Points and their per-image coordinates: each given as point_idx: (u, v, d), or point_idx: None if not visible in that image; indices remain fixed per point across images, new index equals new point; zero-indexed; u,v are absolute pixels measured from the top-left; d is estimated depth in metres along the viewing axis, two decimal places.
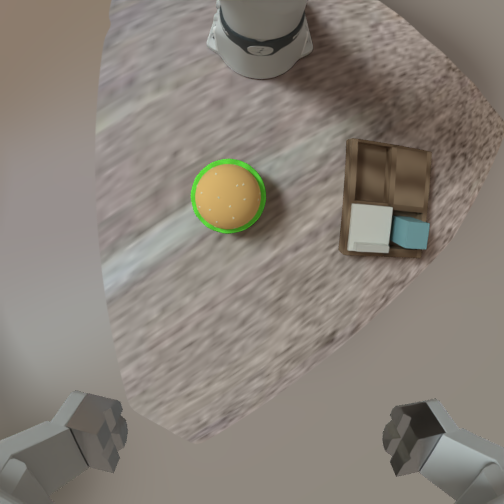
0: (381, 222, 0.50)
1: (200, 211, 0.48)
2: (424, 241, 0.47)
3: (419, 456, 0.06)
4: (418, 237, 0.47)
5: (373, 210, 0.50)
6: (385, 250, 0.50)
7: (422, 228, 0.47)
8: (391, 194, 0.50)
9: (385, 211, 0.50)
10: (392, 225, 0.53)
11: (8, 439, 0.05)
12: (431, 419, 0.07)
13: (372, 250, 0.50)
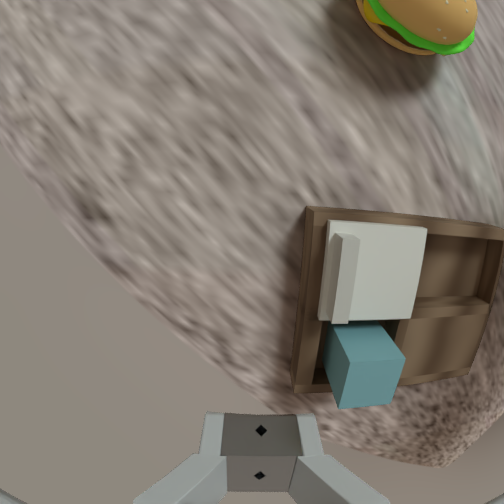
0: (386, 297, 0.23)
1: None
2: (356, 401, 0.21)
3: (276, 475, 0.06)
4: (368, 388, 0.21)
5: (411, 276, 0.22)
6: (338, 315, 0.21)
7: (385, 390, 0.21)
8: (426, 312, 0.24)
9: (406, 303, 0.23)
10: (361, 323, 0.26)
11: (153, 487, 0.05)
12: (291, 436, 0.07)
13: (342, 281, 0.20)
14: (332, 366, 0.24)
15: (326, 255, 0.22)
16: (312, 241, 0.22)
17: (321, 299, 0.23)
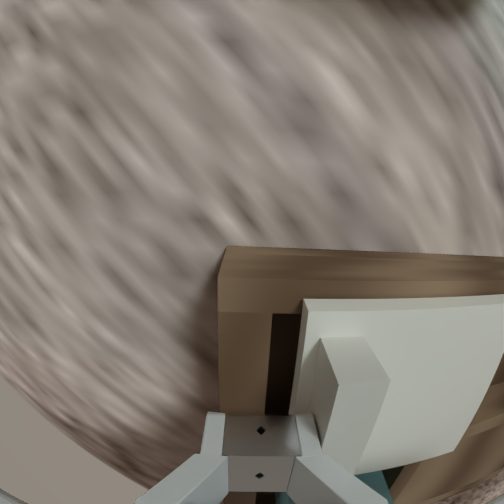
0: (419, 436, 0.09)
1: None
2: None
3: (275, 475, 0.06)
4: None
5: (473, 394, 0.09)
6: None
7: None
8: None
9: (452, 435, 0.09)
10: None
11: (155, 487, 0.05)
12: (290, 437, 0.07)
13: None
14: None
15: (296, 384, 0.08)
16: (219, 346, 0.09)
17: None
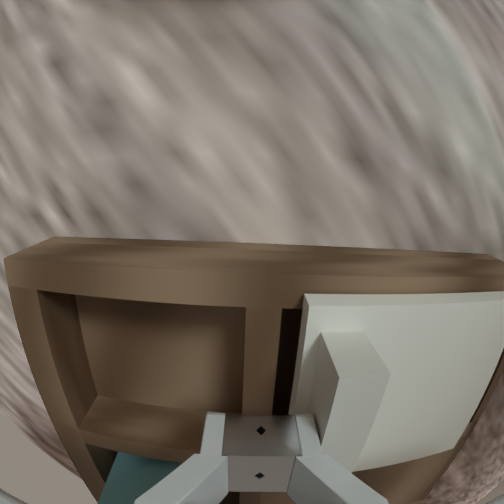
0: (419, 433, 0.09)
1: None
2: None
3: (275, 475, 0.06)
4: None
5: (473, 391, 0.09)
6: None
7: None
8: None
9: (452, 432, 0.09)
10: None
11: (155, 487, 0.05)
12: (290, 437, 0.07)
13: None
14: None
15: (297, 378, 0.08)
16: (16, 315, 0.09)
17: None
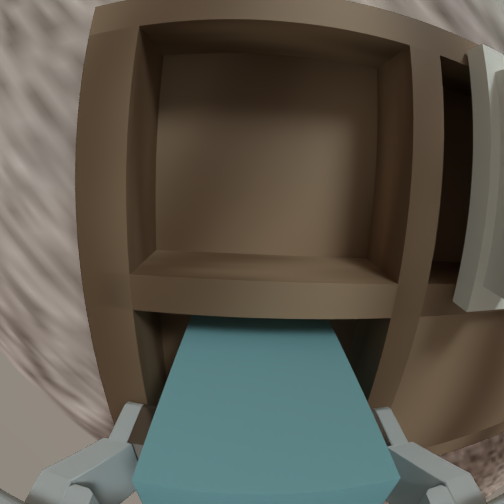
0: None
1: None
2: None
3: None
4: None
5: None
6: None
7: None
8: None
9: None
10: (277, 326, 0.10)
11: (62, 462, 0.05)
12: None
13: None
14: None
15: (485, 127, 0.06)
16: (84, 73, 0.06)
17: (476, 252, 0.07)
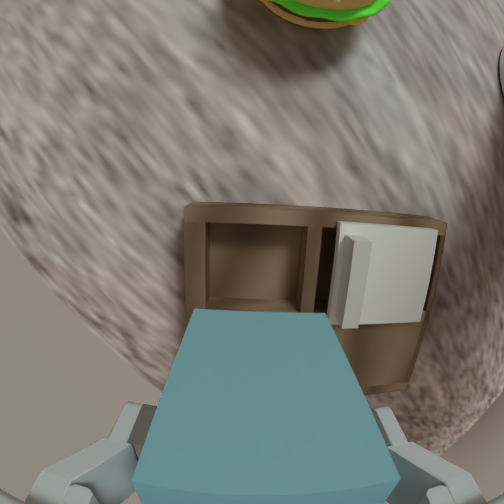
0: (396, 300, 0.22)
1: None
2: None
3: None
4: None
5: (421, 278, 0.21)
6: (349, 319, 0.20)
7: None
8: None
9: (415, 306, 0.22)
10: (277, 326, 0.10)
11: (62, 462, 0.05)
12: None
13: (353, 285, 0.19)
14: None
15: (336, 258, 0.21)
16: (184, 238, 0.21)
17: (330, 303, 0.22)
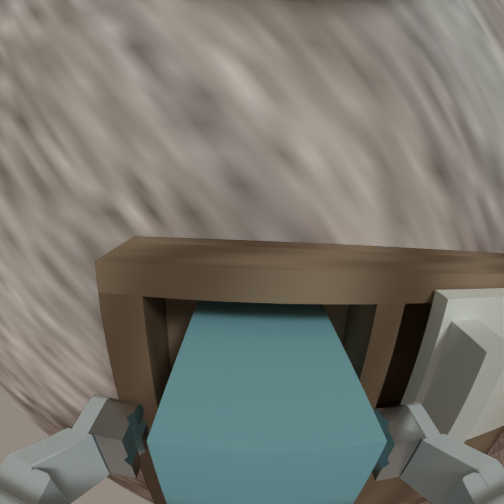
0: (492, 407, 0.09)
1: None
2: None
3: (398, 461, 0.06)
4: None
5: None
6: None
7: None
8: None
9: None
10: (276, 312, 0.10)
11: (27, 448, 0.05)
12: (411, 423, 0.07)
13: (457, 427, 0.07)
14: None
15: (424, 364, 0.09)
16: (105, 325, 0.09)
17: None
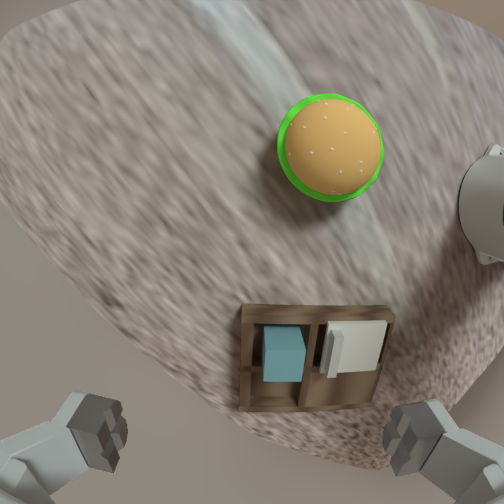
0: (359, 360, 0.38)
1: (317, 104, 0.28)
2: (275, 377, 0.34)
3: (419, 456, 0.06)
4: (281, 368, 0.34)
5: (375, 348, 0.38)
6: (330, 373, 0.36)
7: (295, 371, 0.34)
8: None
9: (372, 362, 0.38)
10: (285, 325, 0.39)
11: (8, 439, 0.05)
12: (431, 419, 0.07)
13: (333, 357, 0.35)
14: (263, 353, 0.38)
15: (325, 340, 0.37)
16: (241, 331, 0.38)
17: (321, 362, 0.38)
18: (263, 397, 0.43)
